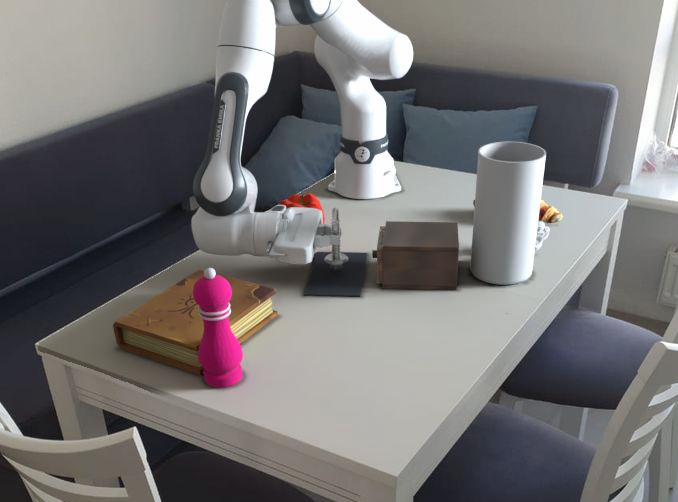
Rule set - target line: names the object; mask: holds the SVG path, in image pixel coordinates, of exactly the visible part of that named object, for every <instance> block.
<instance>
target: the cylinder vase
mask: <svg viewBox="0 0 678 502" xmlns="http://www.w3.org/2000/svg"><path fill="white" fill-rule="evenodd" d="M477 154H478V155H477V167H476V178H475V180H476V181H475V193H474V200H475V207H474V208H473V209H474V211H473V224H472V237H471V238H472V239H471V251H470V266H469V267H470V272H471V273H472V275H473V276H474V277H475V278H476V279H478V280H479V281H481V282H484V283H487V284H492V285H500V286H509V285H510V286H511V285H516V284H520V283H523V282H525V281H527V280H528V279H529V278H531V276H532V274H533V269H534V260H535V259H534V258H535V253H536V252H535V244H536V235H537V227H538V218H539V210H540V201H541V199H542V192H543V182H544V174H545V166H546V158H547V151H546V150H545V148H543V147H541V146H539V145H536V144H533V143H529V142H522V141H498V142H490V143H487V144H486V143H485V144H484V145H482V146H480V147H479V148H478V152H477Z"/></svg>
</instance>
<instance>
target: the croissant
mask: <svg viewBox="0 0 678 502" xmlns="http://www.w3.org/2000/svg"><path fill="white" fill-rule="evenodd" d="M472 205H473V207H474V208H475V199H473V202H472ZM563 217H564V216H563V213H561V212H559V210H558V209H557V208H556V207H555V206H553V205H549V204H548V203H546V202H545V201H544V199H542V198H541V201H540V210H539V218H538V221H543V222H544V223H547V224H554V223H559V222H561V221H562V220H563Z"/></svg>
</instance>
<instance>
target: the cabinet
mask: <svg viewBox="0 0 678 502" xmlns="http://www.w3.org/2000/svg"><path fill="white" fill-rule="evenodd" d="M458 223H459V222H457V221H455V222H454V221H398V220H397V221H396V220H394V221H391V220H386V221H385V234H384V241H383V283H382V289H383V290H384V289H388V290H391V289H392V290H427V291H428V290H429V291H430V290H431V291H432V290H433V291H434V290H435V291H437V290H438V291H444V290H445V291H457V288H458V271H459V255H460V241H459V224H458Z"/></svg>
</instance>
